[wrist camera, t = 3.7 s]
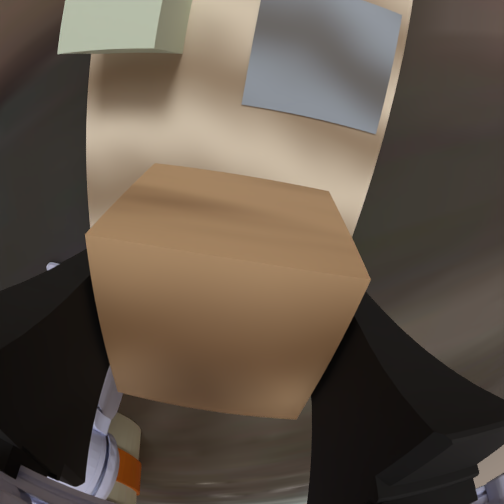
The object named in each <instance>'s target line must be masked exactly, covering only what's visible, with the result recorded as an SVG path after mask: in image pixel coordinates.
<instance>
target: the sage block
mask: <svg viewBox="0 0 504 504" xmlns="http://www.w3.org/2000/svg"><path fill="white" fill-rule="evenodd" d="M191 4H192V0H66V1H65V6H64V11H63V17H62V23H61V30H60V37H59V45H58V54H111V53H174V54H183V48H184V42H185V36H186V30H187V25H188V19H189V14H190V9H191Z"/></svg>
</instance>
